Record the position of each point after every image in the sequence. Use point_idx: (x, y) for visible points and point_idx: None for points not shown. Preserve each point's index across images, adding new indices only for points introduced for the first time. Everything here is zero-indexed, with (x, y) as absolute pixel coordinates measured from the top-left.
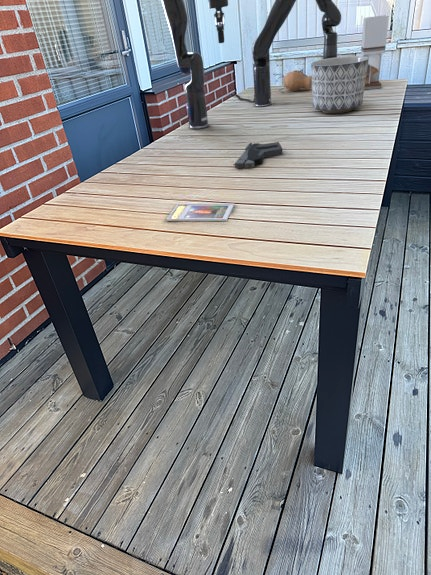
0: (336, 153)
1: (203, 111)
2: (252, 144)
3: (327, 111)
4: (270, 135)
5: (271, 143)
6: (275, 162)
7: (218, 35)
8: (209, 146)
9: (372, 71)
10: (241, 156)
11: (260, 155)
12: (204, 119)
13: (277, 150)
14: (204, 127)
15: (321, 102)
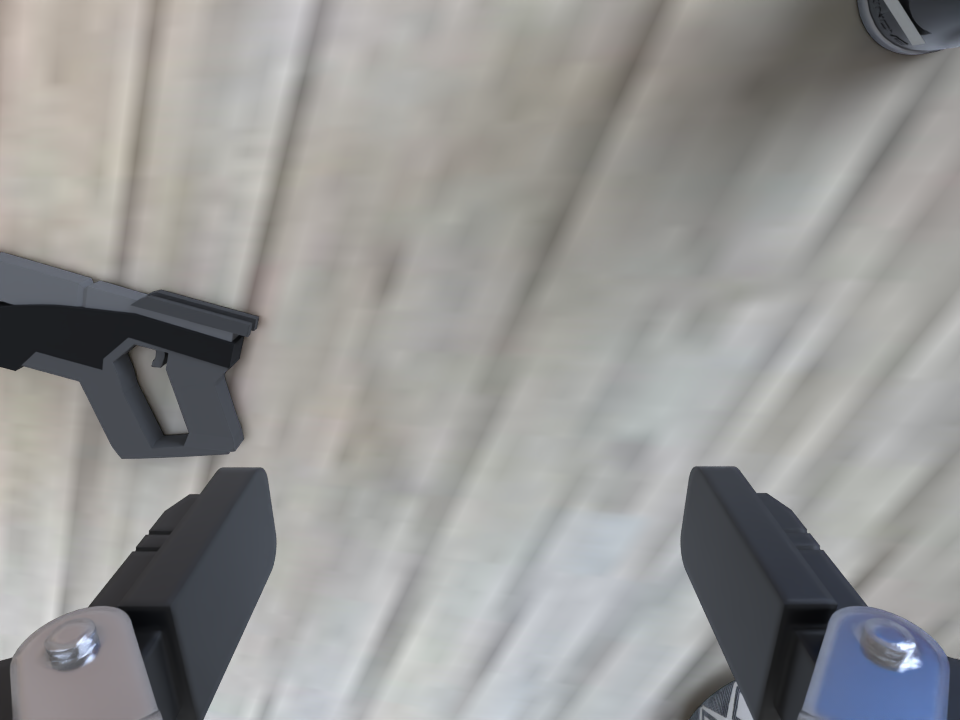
0: None
1: (946, 12)
2: (231, 336)
3: None
4: (472, 424)
5: (218, 422)
6: (35, 408)
7: (161, 562)
8: (372, 81)
9: None
10: (31, 274)
11: (24, 362)
12: (902, 22)
13: (111, 436)
14: (863, 22)
15: (743, 711)
